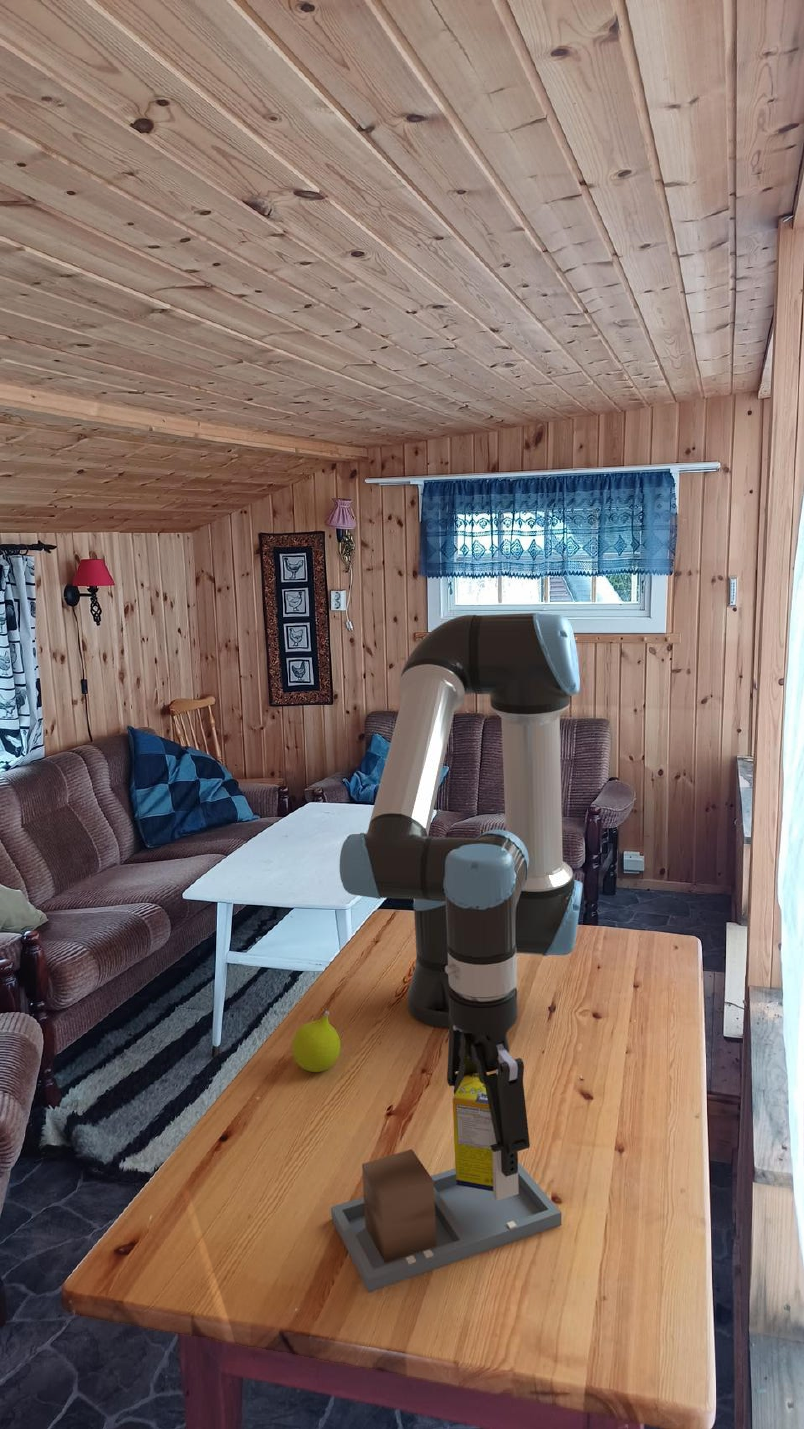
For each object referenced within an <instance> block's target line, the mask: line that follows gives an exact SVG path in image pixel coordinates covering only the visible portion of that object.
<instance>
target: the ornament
mask: <svg viewBox="0 0 804 1429" xmlns="http://www.w3.org/2000/svg"><path fill="white" fill-rule="evenodd" d="M329 1015H330V1012H329V1010H325V1012H324V1014H323V1016H322V1017H321V1018H320V1019H318V1020H313V1021H309V1022H306V1023H305V1024H303V1025H301V1027H299V1029H297V1031H296V1032H295V1034H294V1037H293V1039H292V1043H291V1052H292V1056H293V1058H294V1060H295V1062H296V1063H297V1064H298V1066H299V1067H300V1068H302V1069H303V1070H305V1071H308V1072H310V1073H311V1072H312V1073H320V1072H324V1071H327V1070H329V1069H330V1068H331V1067H332V1066H334V1064H335V1063H336V1062H337V1060H338V1059H339V1056H340V1053H341V1047H342V1046H341V1038H340V1036H339V1033H338V1032H337V1030H336V1029H335V1028H334V1027H333V1026H332V1024H330V1021H329Z"/></svg>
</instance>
